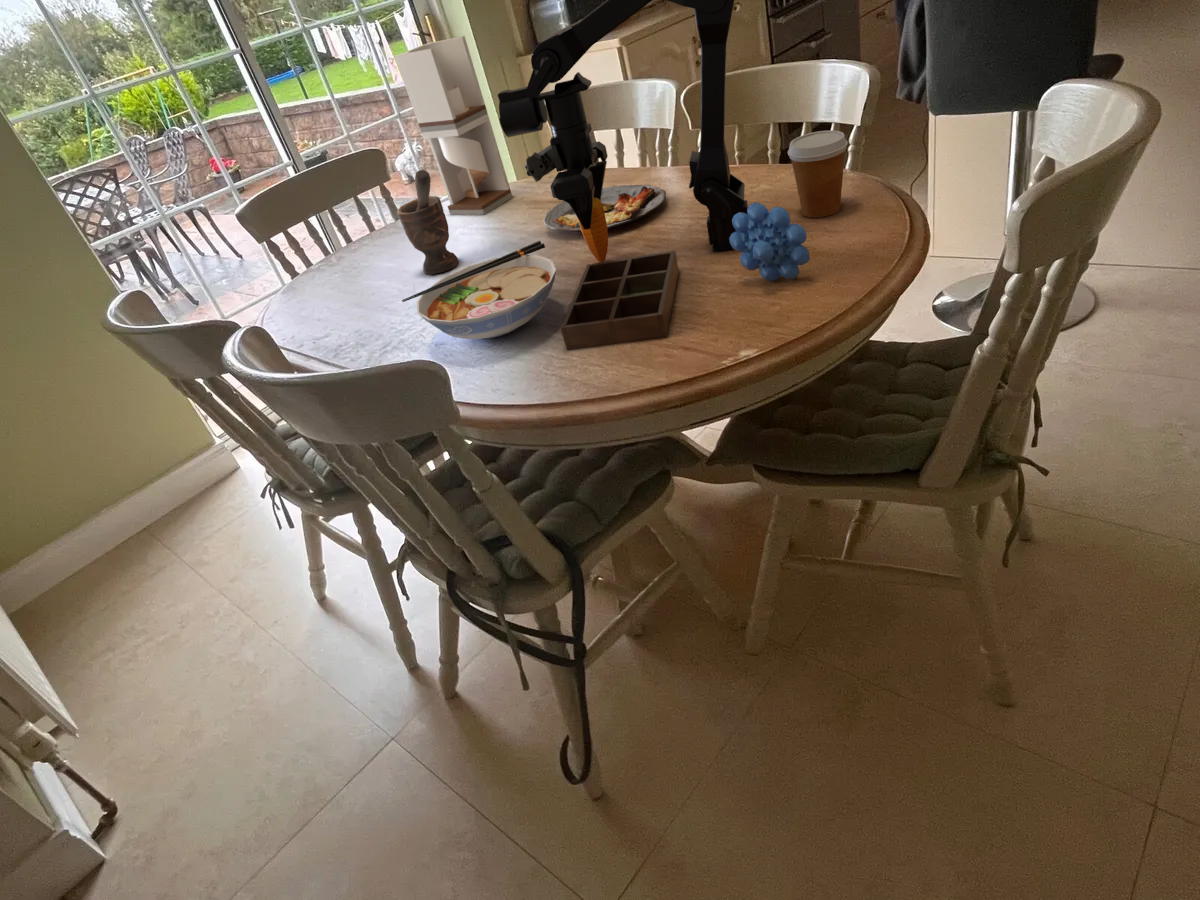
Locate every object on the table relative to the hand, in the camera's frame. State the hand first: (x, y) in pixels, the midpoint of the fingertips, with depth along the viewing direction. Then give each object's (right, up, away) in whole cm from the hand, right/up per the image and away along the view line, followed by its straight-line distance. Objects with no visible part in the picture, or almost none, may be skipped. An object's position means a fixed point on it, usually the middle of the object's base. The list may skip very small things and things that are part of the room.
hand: (592, 218), depth 128 cm
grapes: (+27, -15, -17) cm, 35 cm away
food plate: (+3, +8, +24) cm, 26 cm away
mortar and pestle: (-29, -3, +22) cm, 36 cm away
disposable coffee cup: (+40, +1, +1) cm, 40 cm away
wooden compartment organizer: (+5, -18, -12) cm, 22 cm away
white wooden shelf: (-27, +19, +51) cm, 61 cm away
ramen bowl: (-15, -20, -7) cm, 26 cm away
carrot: (+2, -7, +5) cm, 8 cm away
